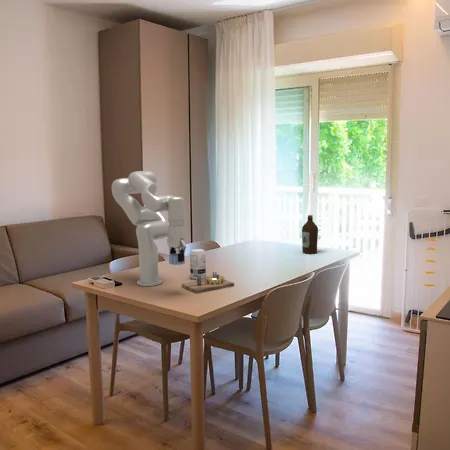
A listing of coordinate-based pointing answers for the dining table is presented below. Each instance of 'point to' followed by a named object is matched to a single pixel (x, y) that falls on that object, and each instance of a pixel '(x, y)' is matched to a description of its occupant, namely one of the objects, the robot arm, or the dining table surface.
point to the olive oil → (309, 236)
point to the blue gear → (175, 259)
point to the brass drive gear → (214, 279)
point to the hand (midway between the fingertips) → (177, 259)
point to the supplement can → (197, 263)
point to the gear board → (205, 285)
